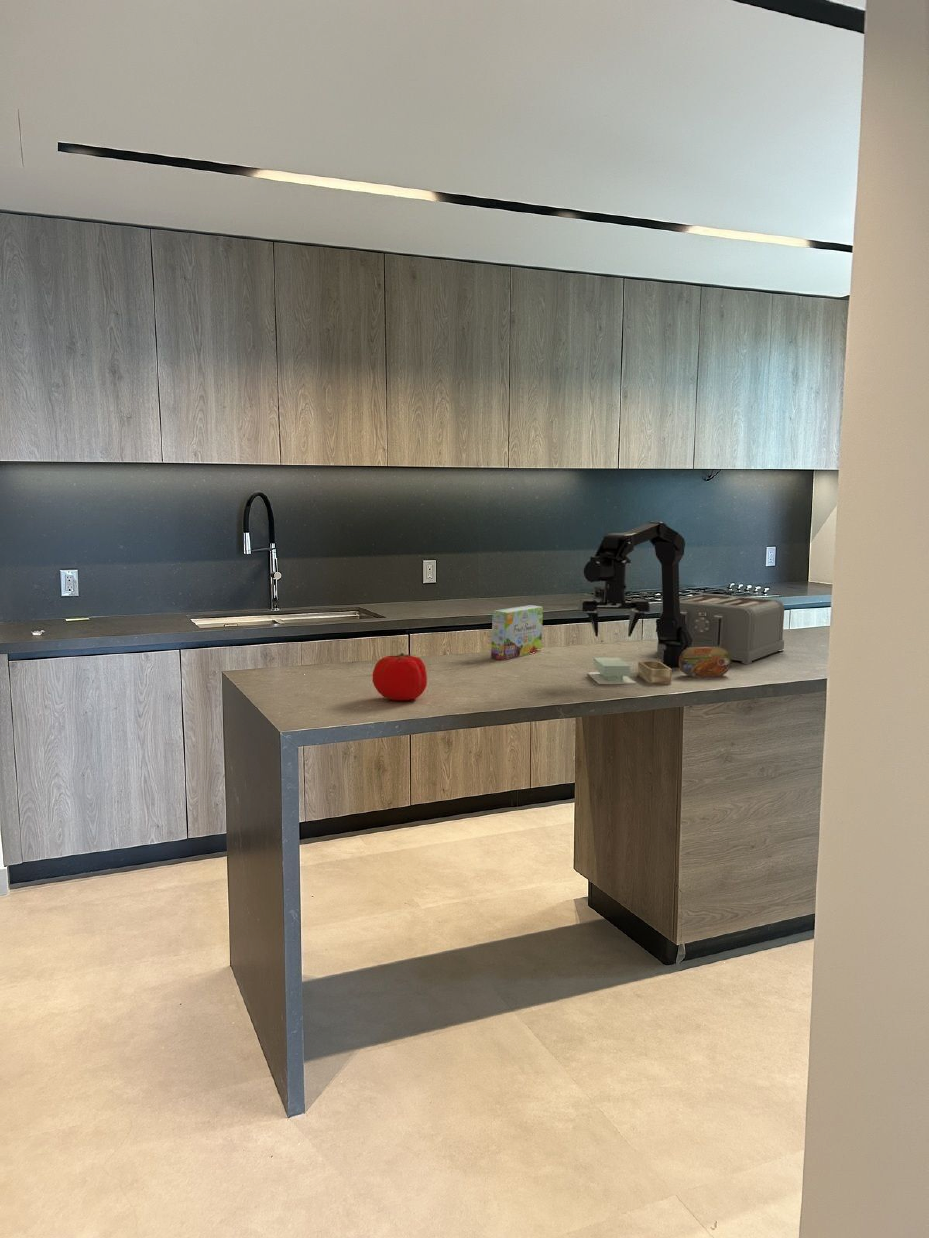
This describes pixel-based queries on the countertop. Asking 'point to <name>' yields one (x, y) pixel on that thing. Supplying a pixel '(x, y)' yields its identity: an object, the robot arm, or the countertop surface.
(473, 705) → the countertop surface
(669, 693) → the countertop surface
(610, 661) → the pale green block
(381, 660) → the tomato
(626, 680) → the mat
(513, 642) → the snack box
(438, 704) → the countertop surface
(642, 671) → the crate
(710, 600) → the toaster
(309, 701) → the countertop surface
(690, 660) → the tin
